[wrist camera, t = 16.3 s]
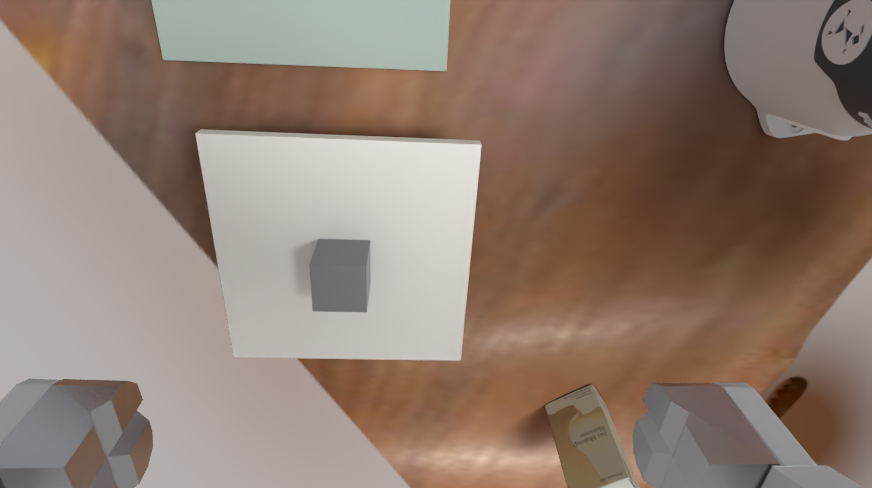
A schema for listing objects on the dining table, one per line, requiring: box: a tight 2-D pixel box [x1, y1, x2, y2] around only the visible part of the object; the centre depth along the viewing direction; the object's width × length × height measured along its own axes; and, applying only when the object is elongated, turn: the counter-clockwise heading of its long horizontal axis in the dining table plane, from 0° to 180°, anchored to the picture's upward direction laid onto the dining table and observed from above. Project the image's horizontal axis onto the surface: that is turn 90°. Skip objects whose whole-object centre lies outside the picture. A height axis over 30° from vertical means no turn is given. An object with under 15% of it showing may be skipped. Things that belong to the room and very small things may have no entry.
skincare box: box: [545, 385, 639, 488], centre depth 55 cm, size 6×4×12 cm
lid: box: [195, 129, 482, 361], centre depth 40 cm, size 20×20×5 cm
